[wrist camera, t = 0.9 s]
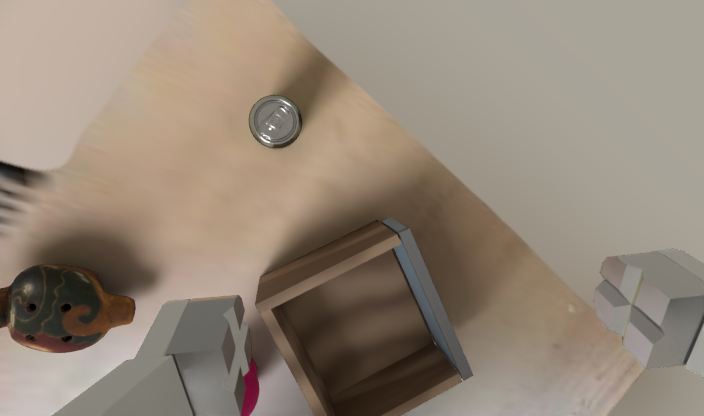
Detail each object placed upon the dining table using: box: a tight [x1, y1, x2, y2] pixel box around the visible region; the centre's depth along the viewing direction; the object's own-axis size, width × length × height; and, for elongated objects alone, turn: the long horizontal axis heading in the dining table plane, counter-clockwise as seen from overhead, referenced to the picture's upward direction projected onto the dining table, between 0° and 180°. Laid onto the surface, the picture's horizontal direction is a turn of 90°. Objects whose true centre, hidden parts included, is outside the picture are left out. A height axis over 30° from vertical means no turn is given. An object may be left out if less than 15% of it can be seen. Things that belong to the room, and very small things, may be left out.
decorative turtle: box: [0, 264, 136, 353], centre depth 44 cm, size 10×15×8 cm, turn 86°
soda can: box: [249, 95, 302, 150], centre depth 43 cm, size 5×5×12 cm
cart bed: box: [255, 220, 462, 416], centre depth 49 cm, size 20×17×10 cm
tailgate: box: [382, 217, 473, 380], centre depth 49 cm, size 20×1×8 cm, turn 25°
